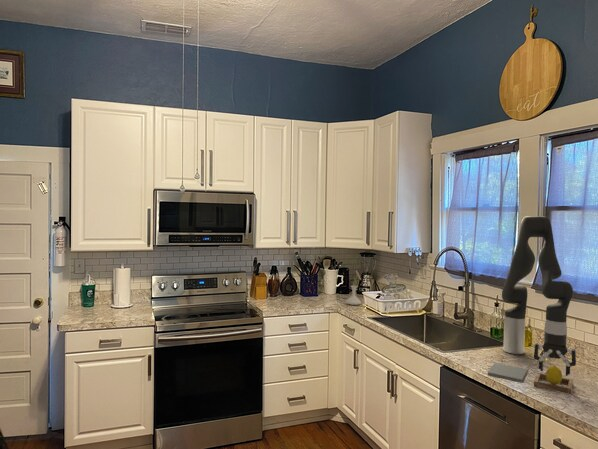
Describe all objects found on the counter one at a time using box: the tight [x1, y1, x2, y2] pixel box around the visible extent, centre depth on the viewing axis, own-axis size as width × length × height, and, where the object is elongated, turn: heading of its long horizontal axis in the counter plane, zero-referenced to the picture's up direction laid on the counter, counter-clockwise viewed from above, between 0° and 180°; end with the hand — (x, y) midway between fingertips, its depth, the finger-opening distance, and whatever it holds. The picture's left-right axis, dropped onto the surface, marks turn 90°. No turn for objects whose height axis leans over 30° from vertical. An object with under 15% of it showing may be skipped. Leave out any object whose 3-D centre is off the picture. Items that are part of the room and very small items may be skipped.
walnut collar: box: [533, 372, 574, 395], centre depth 172 cm, size 12×12×2 cm
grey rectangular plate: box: [487, 362, 529, 383], centre depth 185 cm, size 16×13×1 cm
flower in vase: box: [345, 270, 362, 306], centre depth 324 cm, size 13×11×25 cm
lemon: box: [545, 365, 563, 385], centre depth 172 cm, size 6×6×8 cm
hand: (553, 373), depth 172 cm, fingers open, 8 cm apart
